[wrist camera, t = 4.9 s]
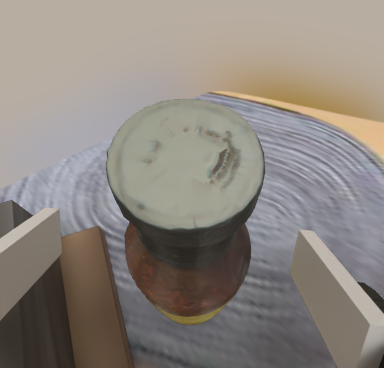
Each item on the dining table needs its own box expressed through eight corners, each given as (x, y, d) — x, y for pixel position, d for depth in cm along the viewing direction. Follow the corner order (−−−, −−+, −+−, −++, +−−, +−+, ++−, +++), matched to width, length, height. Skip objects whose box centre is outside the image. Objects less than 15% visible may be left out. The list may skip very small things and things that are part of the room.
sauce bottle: (240, 292, 24) (395, 192, 6) (182, 343, 22) (177, 399, 4) (193, 234, 26) (214, 42, 9) (137, 275, 24) (19, 138, 7)
